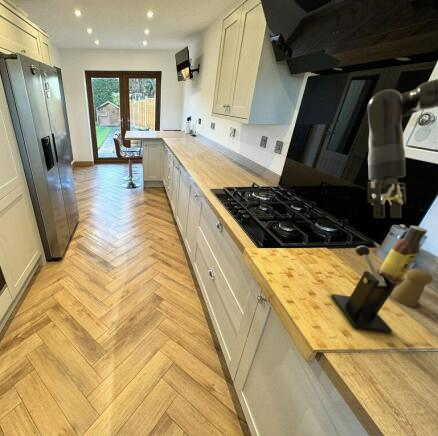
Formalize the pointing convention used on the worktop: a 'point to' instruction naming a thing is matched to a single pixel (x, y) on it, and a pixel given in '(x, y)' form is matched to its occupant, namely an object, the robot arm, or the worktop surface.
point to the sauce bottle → (403, 254)
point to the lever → (370, 265)
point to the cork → (412, 287)
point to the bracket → (366, 303)
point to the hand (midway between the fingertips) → (387, 218)
